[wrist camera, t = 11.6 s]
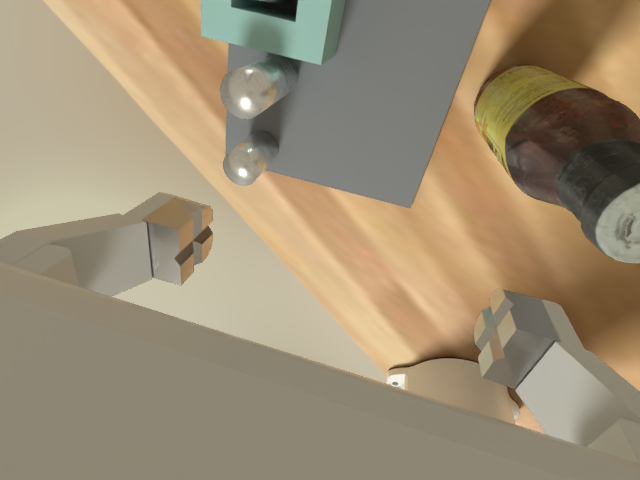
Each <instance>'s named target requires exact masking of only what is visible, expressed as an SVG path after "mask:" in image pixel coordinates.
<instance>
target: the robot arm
mask: <svg viewBox="0 0 640 480" xmlns="http://www.w3.org/2000/svg"><path fill="white" fill-rule="evenodd" d="M212 221H213V210H212V208H211V207H210V206H207V205H204V204H201V203H198V202H194V201H191V200H188V199H184V198H181V197H178V196H174V195H171V194H167V193H162V192H159V193H157V194H156V195H154V196H153V197H151V198H149V199H148V200H146V201H145V202H143V203H142V204H140V205H138V206H137V207H135V208H134V209H132V210H131V211H129V212H127V213H126V214H124V215H121V214H113V215H108V216H102V217H96V218H90V219H84V220H78V221H73V222H67V223H62V224H55V225H50V226H44V227H38V228H32V229H27V230H22V231H16V232H14V233H12V234H10V235H8V236H6V237H4V238H2V239H0V480H640V392H639V391H638V390H637V389H636V388H635V387H633V386H632V385H631V384H630V383H629V382H627V381H626V380H625V379H624V378H623V377H621V376H620V375H619V374H618V373H617V372H615V371H614V370H613V369H612V368H611V367H609V366H608V365H607V364H606V363H605V362H603V361H602V360H601V359H600V358H599V357H597V356H596V355H595V354H594V353H593V352H591V351H588V350H585V349H584V347H583V345H582V343H581V341H580V340H579V338H578V336H577V334H576V332H575V330H574V328H573V327H572V325H571V323H570V321H569V319H568V317H567V315H566V314H565V312H564V310H563V308H562V306H560V305H559V304H558V303H555V302H551V301H547V300H543V299H539V298H534V297H530V296H527V295H523V294H519V293H515V292H511V291H507V290H503V289H499V288H497V289H496V290H495V291H494V292H493V293H492V295H491V297H490V298H489V301H490V305H491V307H489V308H487V309H485V310H483V311H481V313H480V315H479V317H478V319H477V321H476V325H475V329H474V339H475V344H476V346H477V347H478V348H479V349H480V350H481V351H482V352H481V353H480V355H479V356H478V361H479V363H476V362H472V361H468V360H463V359H454V358H443V359H434V360H429V361H425V362H422V363H419V364H417V365H415V366H412V367H407V368H395V369H391V370H389V371H388V373H387V380H386V384H385V383H382V382H379V381H376V380H373V379H370V378H366V377H363V376H360V375H357V374H354V373H350V372H347V371H344V370H341V369H338V368H335V367H331V366H328V365H325V364H322V363H319V362H316V361H312V360H309V359H306V358H303V357H300V356H297V355H293V354H290V353H287V352H284V351H281V350H277V349H274V348H271V347H268V346H265V345H261V344H259V343H255V342H252V341H249V340H246V339H243V338H240V337H236V336H233V335H230V334H227V333H224V332H221V331H218V330H214V329H211V328H208V327H205V326H202V325H199V324H195V323H192V322H189V321H186V320H183V319H180V318H177V317H173V316H170V315H167V314H164V313H161V312H158V311H154V310H151V309H148V308H145V307H142V306H139V305H135V304H132V303H129V302H126V301H123V300H120V299H116V298H113V297H112V296H114V295H117V294H119V293H121V292H124V291H126V290H128V289H131V288H133V287H135V286H138V285H140V284H142V283H145V282H147V281H149V280H151V279H152V278H156V279H160V280H163V281H167V282H170V283H174V284H177V285H182V284H183V283H184V282H185V281H186V280H187V279H188V277H189V276H190V275H191V274H192V273H193V272H194V265H196V264H199V263H202V262H203V261H204V259H205V258H206V257H207V256H208V254H209V251H210V249H211V246H212V241H213V233H212V231H211V229H210V228H209V226H208V225H209V224H210V223H211V222H212ZM507 387H510V388H513V389H516V390H515V391H516V393H517V394H518V395H519V397H520V398H521V399H522V401H523V402H524V404H525V405H526V406H527V408H528V409H529V411H530V412H531V413H532V415H533V416H534V418H535V419H536V420H537V422H538V423H539V425H540V426H541V427H542V429H543V430H544V431H545V433H546V434H547V435H546V434H543V433H540V432H537V431H534V430H530V429H527V428H524V427H521V426H518V425H515V420H514V419H516V418H517V417H519V415H520V411H519V406H518V405H517V404H516V402H515V401H514V400H512V399H511V398H510V396H509V394H508V390H507Z"/></svg>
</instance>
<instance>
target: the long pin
mask: <svg viewBox="0 0 640 480" xmlns="http://www.w3.org/2000/svg"><path fill="white" fill-rule="evenodd" d="M258 1H265V2H271V3H278V4H285V5H297V4H298V0H258Z"/></svg>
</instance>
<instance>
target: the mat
mask: <svg viewBox="0 0 640 480" xmlns="http://www.w3.org/2000/svg"><path fill="white" fill-rule="evenodd" d="M489 3H490V0H346V1H345V6H344V11H343V17H342V22H341V27H340V33H339V38H338V43H337V49H336V54H335V56H334V57H332V58H331V59H329V60H328V61H326V62H325V63H323V64H322V65H319V64H314V63H310V62H306V61H302V60H298V59H294V58H290V57H288V58H290V59H291V60H292V61H293V62H294V64H295V65H296V67H297V70H298V82H297V85H296V86H295V88H294V89H293V90H292V91H291V92H289V93H288V94H286V95H285V96H284V97H282V98H281V99H279V100H278V101H277V102H275V103H274V104H272V105H271V106H270V107H268V108H267V109H265V110H264V111H263V112H261V113H260V114H258V115H257V116H255V117H254V118H251V119H241V118H238V117H236V116H234V115H233V114H232V113H230V112H229V111H228V109H227V123H226V155H227V154H228V153H229V152H231V151H232V150H233V149H234V148H236V147H237V146H238V145H239V144H241V143H242V142H243V141H244V140H245V139H247V138H248V137H249V136H250V135H252V134H253V133H254V132H256V131H266V132H269V133H270V134H272V135H273V136H274V137H275V139H276V140H277V143H278V146H279V151H278V154H277V156H276V158H275V159H274V160H273V161H272V162H271V163H270V164H269V165H268V167H267V168H266V169H265V170H267V171H270V172H274V173H278V174H282V175H286V176H289V177H293V178H297V179H301V180H305V181H308V182H312V183H316V184H320V185H323V186H327V187H331V188H335V189H339V190H342V191H346V192H350V193H354V194H358V195H361V196H365V197H369V198H373V199H377V200H380V201H384V202H388V203H392V204H396V205H399V206H403V207H407V208H411V205H412V203H413V200H414V197H415V195H416V192H417V190H418V187H419V184H420V182H421V179H422V177H423V174H424V171H425V169H426V166H427V164H428V161H429V158H430V156H431V153H432V151H433V148H434V146H435V143H436V140H437V138H438V135H439V133H440V130H441V127H442V125H443V122H444V120H445V117H446V114H447V112H448V109H449V107H450V104H451V101H452V99H453V96H454V94H455V91H456V88H457V86H458V83H459V81H460V78H461V75H462V73H463V70H464V68H465V65H466V62H467V60H468V57H469V55H470V52H471V49H472V47H473V44H474V42H475V39H476V36H477V34H478V31H479V29H480V26H481V23H482V21H483V18H484V16H485V13H486V10H487V8H488V5H489ZM297 5H298V4H297ZM297 5H285V4H278V3H271V2H265V1H261V7H262V8H266V9H271V10H275V11H279V12H284V13H288V14H292V15H296V14H297ZM275 55H277V54H273V53H269V52H265V51H260V50H256V49H252V48H248V47H244V46H240V45H235V44H231V43H229V51H228V73H229V72H231V71H233V70H236V69H238V68H241V67H244V66H247V65H250V64H252V63H255V62H258V61H261V60H264V59H266V58H269V57H272V56H275Z"/></svg>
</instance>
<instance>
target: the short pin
mask: <svg viewBox="0 0 640 480" xmlns="http://www.w3.org/2000/svg"><path fill="white" fill-rule="evenodd" d="M278 151H279V146H278V143H277V140H276V139H275V137H274V136H273V135H272V134H270V133H269V132H266V131H256V132H254V133H253V134H252V135H250V136H249V137H248V138H247V139H245V140H244V141H243V142H242V143H241V144H239V145H238V146H237V147H236V148H234V149H233V150H232V151H231V152H229V153H228V154H227V155H226V156H225V158H224V161H223V168H224V171H225V174H226V175H227V177H228V178H229V179H230V180H231V181H232V182H234V183H236V184H238V185H242V186H246V185H250V184H252V183H253V182H254V181H255V180H256V179H257V178H258V177H259V176H260V175H261V173H262V172H263V171H264V170H265V169H266V168H267V167H268V165H269V164H270V163H271V162H272V161H273V160H274V159H275V158H276V156H277V154H278Z"/></svg>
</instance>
